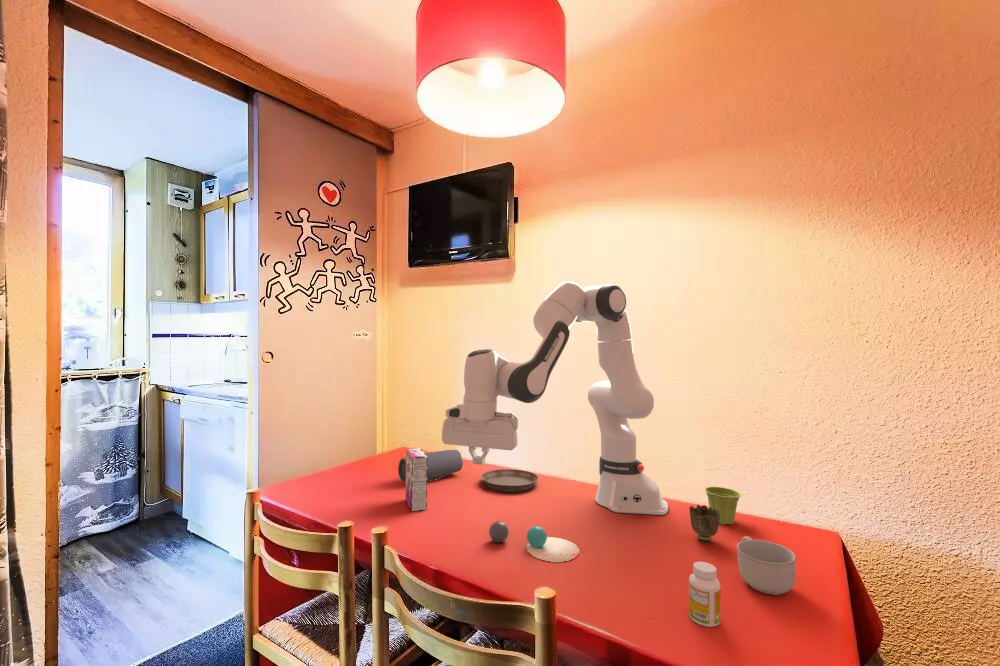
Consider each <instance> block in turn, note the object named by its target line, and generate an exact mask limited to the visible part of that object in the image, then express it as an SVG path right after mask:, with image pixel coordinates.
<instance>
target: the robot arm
mask: <svg viewBox="0 0 1000 666" xmlns="http://www.w3.org/2000/svg"><path fill="white" fill-rule="evenodd" d="M626 308H627V297H626V294H625V292H624V291H623V289H622V288H621V287H620V286H619V285H617V284H608V283H607V284H602V285H601V284H600V285H590V286H587V287H584V288H582V286H580V285H579V284H578V283H576V282H573V281H564V282H562V283H560V284H559V285H558V286H557V287H555V288H554V289H553V290H552V291H551V292H550V293H549V294H548V296H546V298H545V299H544V300H543V301H542V303H541V304H540V305H539V307H538V308H537V310H536V311H535V314H534V315H533V320H532V321H533V326H534V328H535V330H536V332H537V333H538V334H539V335H540V336H541V338H543V339H542V340H541V342H540V344H539V346H538V347H537V349H536V351H535V352H534V354H533V356H532V358H531V359H529V360H527V361H525V362H522V363H521V362H513V361H510V360H507V359H506V358H505V357H502V356H500V355H499V354H498V353H497V352H496V351H495V350H494V349H489V348H488V349H477V350H474V351H471V352H470V353H469V354H468V353H467V354H468V355H467V357H466V360H465V363H464V369H463V370H464V373H463V385H464V396H463V404H462V403H461V404H458V405H455V406H452V407H450V408H447V409H445V417H446V418H445V419H444V421H443V423H442V429H441V430H442V431H441V441H442V443H443V444H444V445H449V446H450V445H451V446H459V447H460V446H461V447H463V446H464V447H468V452H469V454H470V456H471V458H472V459H471V460H472V463H471V464H473V465H481V466H484V465H485V463H486V457H487V455H488V453H489V451H490V449H491V450H492V449H493V450H502V451H513V450H514V449H515V448H516V447H517V446H518V431H517V430H518V428H519V427H518V426H519V420H518V419H519V418H518V417H517V416H516V415H514V414H513V413H509V412H501V411H499V412H498V411H497V408H498V407H497V405H498V396H500V397H505V398H508V399H513V400H517V401H519V402H522V403H525V404H531V403H532V404H533V403H534V402H537V401H538V400H539V399H541V397H543V395H544V393H545V391H546V389H547V386H548V383H549V379H550V376H551V374H552V372H553V370H554V368H555V366H556V365H557V362H558V360H559V358H560V357H561V355H562V353H563V351H564V349H565V347H566V345H567V343H568V341H569V337H570V329H571V328H572V326H573V325H574V323H575V322H576V323H582V322H586V323H587V322H589V323H590V322H591V323H592V322H593V323H595V325H596V341H597V342H596V343H597V344H596V345H597V354H598V364H599V367H600V368H601V369H602V370H603V371H604V372H605V374H606V376H607V378H608V380H603V381H597V382H595V383H593V384H592V385H591V386H590V387H589V389H588V392H587V393H588V394H587V401H588V403H589V404H590V406H591V407H592V409H593V411H594V413H595V416H596V419H597V423H598V426H599V431H600V456H599V460H598V474H599V481H598V482H599V483H598V488H597V493H596V494H595V499H594V500H595V502H596V503H597V504H599V505H600V506H603V507H604V508H607V509H609V510H610V511H612V512H615V513H622V514H623V513H624V514H639V515H640V514H641V515H654V516H655V515H657V516H663V515H666V514H668V512H669V505H668V502H667V501H666V500H665V499H664V498H662V495H661V491H660V488H659V486H658V484H657V483H656V482H655V481H653V480H652V479H651V478H650V477H649V476H648V475H646V474H645V473H644V470H645V466H644V465H643V463H642V461H641V460H638V459H637V437H636V433H635V431H633V429H632V427H630V424H629V421H628V419H629V420H642V419H646V418H647V417H649V416H650V414H652V411H653V409H654V406H655V401H654V395H653V394H652V392H651V391H650V390H649V389H648V388H647V387H646V386H645V383H644V382H643V381H642V379H641V376H640V374H639V373H638V370H637V367H636V362H635V358H634V357H635V355H634V348H633V338H632V329H631V328H632V327H631V324H630V320H629V316H628V312H627V309H626ZM477 448H479V449H480V448H481V452H482V455H481V456H479V455H477V452H476V450H477Z"/></svg>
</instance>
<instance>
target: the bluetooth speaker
mask: <svg viewBox="0 0 1000 666" xmlns="http://www.w3.org/2000/svg"><path fill="white" fill-rule="evenodd" d="M424 453H425V454H426V456H427V457H428V458H427V481H429V482H431V481H430V480H434V481H436V480H435V479H439V478H442V479H444V478H445V476H448V475H451V474H455V473H458V472H460V471H461V470H462V468H463V465H464V463H463V458H462V454H461V451H459V450H458V449H447V450H439V451H430V452H424ZM397 473H398V477H399V479H400V480H401V481H402V482H403V483H406V456H405V457H403V458H401V459H399V462H398V467H397ZM443 477H444V478H443ZM439 480H440V479H439Z"/></svg>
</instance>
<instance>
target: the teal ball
mask: <svg viewBox="0 0 1000 666" xmlns="http://www.w3.org/2000/svg"><path fill="white" fill-rule="evenodd" d="M547 537H548V536H547V532H546V530H545V529H544V528H543V527H542V526H539V525H533V526H532V527H530V528H529V529H528V531H527V533H526V540H527V542H528V543H529V544H530V545H531V546H532V547H535V548H540V547H542V546H543V545H544V544H545V543H546V540H547ZM528 543H527V544H528Z"/></svg>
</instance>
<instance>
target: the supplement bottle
mask: <svg viewBox="0 0 1000 666" xmlns="http://www.w3.org/2000/svg"><path fill="white" fill-rule="evenodd" d="M692 572H693V573H691V574H690V575H689V578H688V616H689V618H690V619H691V620H692V621H693V622H694V623H696V624H698V625H701V626H702V627H706V628H715V627H717V626H719V625H720V624H721V591H722V590H721V588H722V587H721V583H720V581H719V579H718V578H717V567H716V566H715V565H714V564H711V563H710V562H705V561H696V562H694V563H693V565H692Z"/></svg>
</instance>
